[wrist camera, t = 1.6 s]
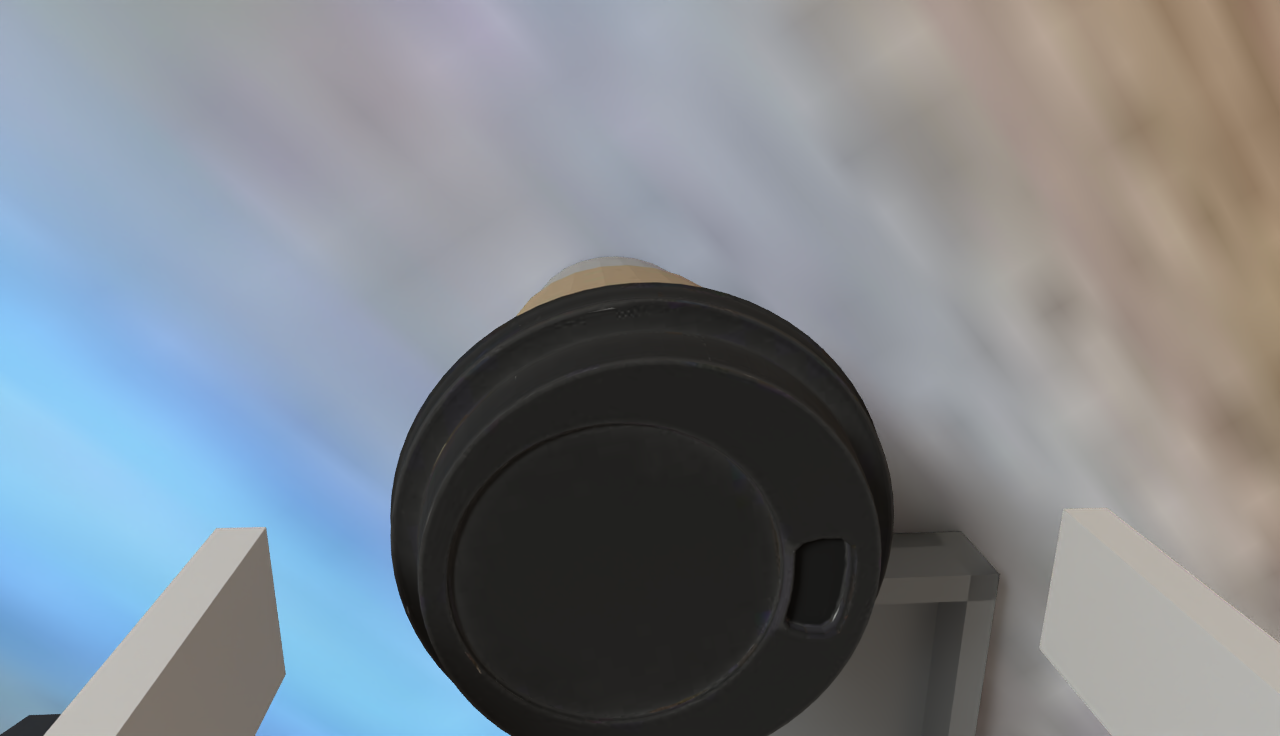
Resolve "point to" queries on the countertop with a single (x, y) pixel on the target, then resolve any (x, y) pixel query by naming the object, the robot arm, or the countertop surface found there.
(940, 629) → the tray
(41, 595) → the countertop surface
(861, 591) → the coffee cup
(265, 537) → the robot arm
